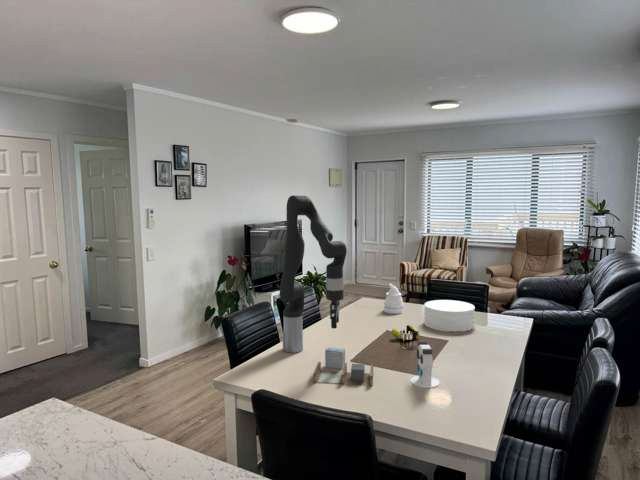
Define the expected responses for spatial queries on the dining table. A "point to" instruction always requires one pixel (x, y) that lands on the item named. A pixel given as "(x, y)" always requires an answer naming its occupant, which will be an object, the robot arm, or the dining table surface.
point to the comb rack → (340, 377)
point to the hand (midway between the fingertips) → (335, 325)
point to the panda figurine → (424, 367)
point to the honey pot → (393, 301)
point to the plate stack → (449, 315)
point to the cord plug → (357, 372)
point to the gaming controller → (409, 328)
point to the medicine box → (334, 358)
